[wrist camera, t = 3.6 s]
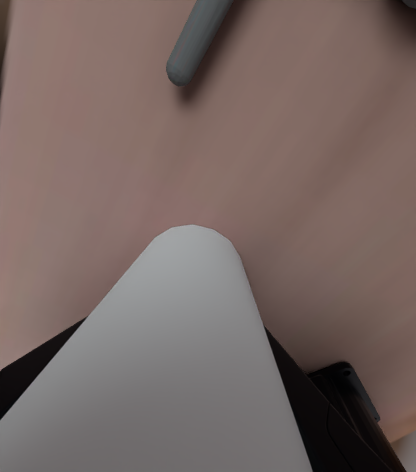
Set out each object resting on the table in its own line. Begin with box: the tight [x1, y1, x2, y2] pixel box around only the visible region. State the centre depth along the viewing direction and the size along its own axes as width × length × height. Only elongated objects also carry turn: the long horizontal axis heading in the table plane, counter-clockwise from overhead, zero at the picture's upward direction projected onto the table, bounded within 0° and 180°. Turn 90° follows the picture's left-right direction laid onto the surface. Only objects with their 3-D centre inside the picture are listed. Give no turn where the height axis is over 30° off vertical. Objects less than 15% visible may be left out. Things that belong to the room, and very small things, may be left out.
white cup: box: [0, 225, 313, 472], centre depth 8 cm, size 7×7×10 cm
